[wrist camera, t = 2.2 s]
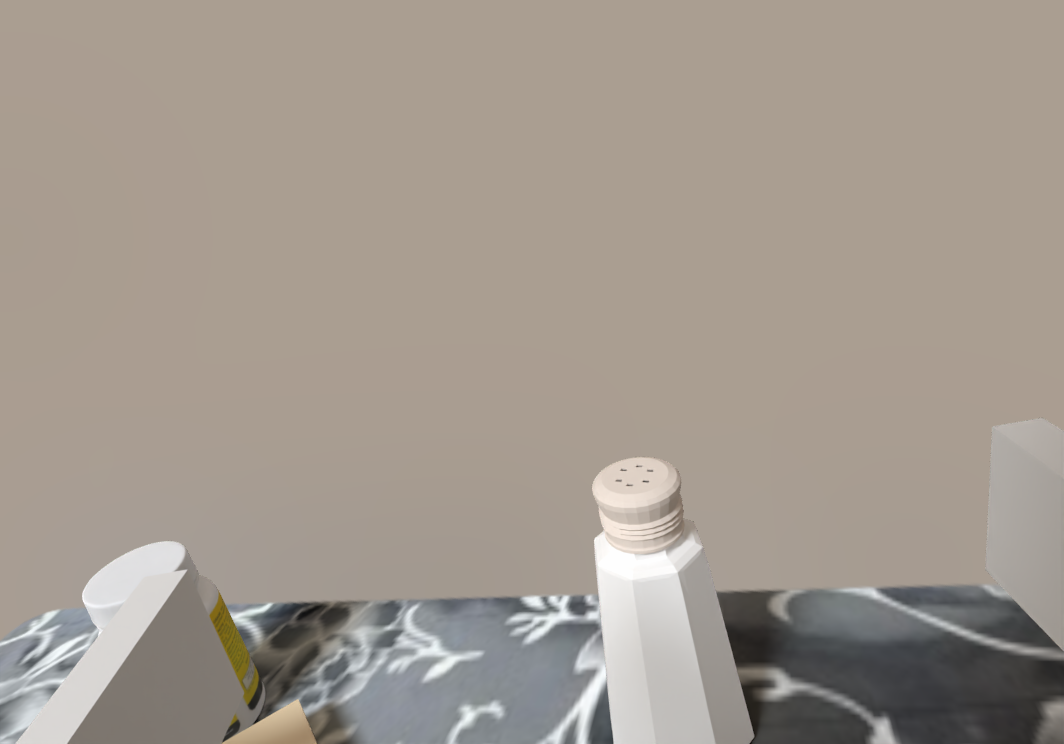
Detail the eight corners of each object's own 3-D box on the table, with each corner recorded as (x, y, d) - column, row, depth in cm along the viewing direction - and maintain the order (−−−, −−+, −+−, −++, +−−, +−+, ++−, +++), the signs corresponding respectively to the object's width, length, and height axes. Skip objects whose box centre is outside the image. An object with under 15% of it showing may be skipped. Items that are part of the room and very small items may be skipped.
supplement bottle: (219, 670, 35) (148, 528, 32) (289, 688, 33) (221, 539, 30) (134, 754, 31) (44, 602, 28) (207, 782, 29) (120, 621, 26)
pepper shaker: (628, 660, 30) (581, 432, 26) (763, 680, 28) (734, 433, 24) (588, 774, 26) (524, 521, 21) (745, 810, 23) (706, 533, 19)
